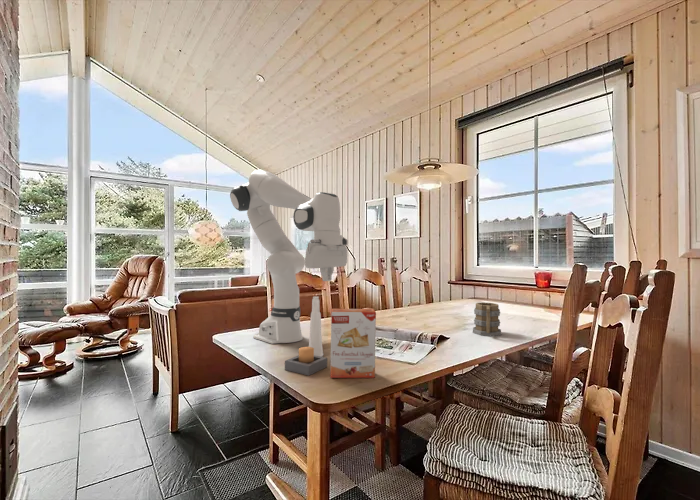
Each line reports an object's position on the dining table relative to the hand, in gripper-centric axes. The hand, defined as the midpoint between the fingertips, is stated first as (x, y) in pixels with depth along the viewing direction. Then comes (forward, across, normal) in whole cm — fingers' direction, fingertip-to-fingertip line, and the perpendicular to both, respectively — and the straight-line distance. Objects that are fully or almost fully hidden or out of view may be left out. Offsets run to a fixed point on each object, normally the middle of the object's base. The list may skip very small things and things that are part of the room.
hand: (327, 280), depth 120 cm
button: (+27, -5, +5) cm, 27 cm away
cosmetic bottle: (+29, +8, +11) cm, 32 cm away
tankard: (+30, +78, -38) cm, 91 cm away
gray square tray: (+29, -5, +5) cm, 30 cm away
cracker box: (+29, -2, -12) cm, 32 cm away
